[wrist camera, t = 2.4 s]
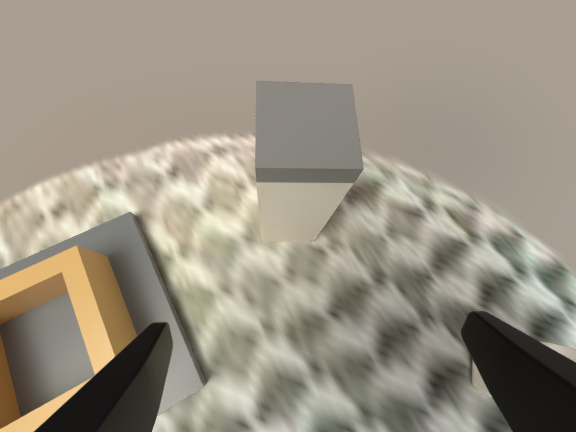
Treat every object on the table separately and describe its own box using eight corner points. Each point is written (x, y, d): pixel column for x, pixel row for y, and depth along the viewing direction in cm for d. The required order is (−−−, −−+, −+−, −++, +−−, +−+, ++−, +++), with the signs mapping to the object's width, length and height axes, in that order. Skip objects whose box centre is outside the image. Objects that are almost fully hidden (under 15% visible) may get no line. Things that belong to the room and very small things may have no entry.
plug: (313, 241, 23) (363, 168, 11) (261, 242, 23) (255, 167, 11) (310, 193, 24) (352, 84, 13) (261, 193, 24) (256, 80, 12)
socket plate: (206, 383, 19) (189, 404, 15) (-18, 523, 16) (-122, 600, 12) (135, 215, 22) (105, 193, 18) (-60, 303, 19) (-151, 301, 15)
